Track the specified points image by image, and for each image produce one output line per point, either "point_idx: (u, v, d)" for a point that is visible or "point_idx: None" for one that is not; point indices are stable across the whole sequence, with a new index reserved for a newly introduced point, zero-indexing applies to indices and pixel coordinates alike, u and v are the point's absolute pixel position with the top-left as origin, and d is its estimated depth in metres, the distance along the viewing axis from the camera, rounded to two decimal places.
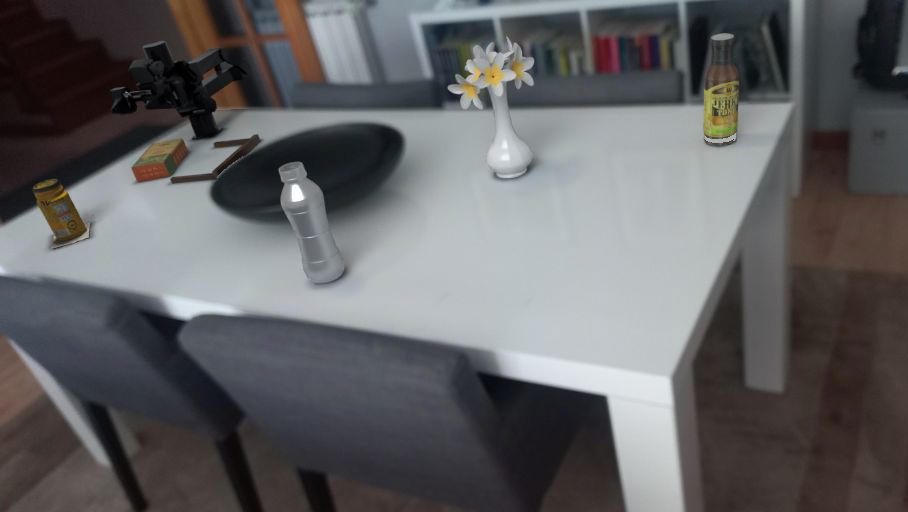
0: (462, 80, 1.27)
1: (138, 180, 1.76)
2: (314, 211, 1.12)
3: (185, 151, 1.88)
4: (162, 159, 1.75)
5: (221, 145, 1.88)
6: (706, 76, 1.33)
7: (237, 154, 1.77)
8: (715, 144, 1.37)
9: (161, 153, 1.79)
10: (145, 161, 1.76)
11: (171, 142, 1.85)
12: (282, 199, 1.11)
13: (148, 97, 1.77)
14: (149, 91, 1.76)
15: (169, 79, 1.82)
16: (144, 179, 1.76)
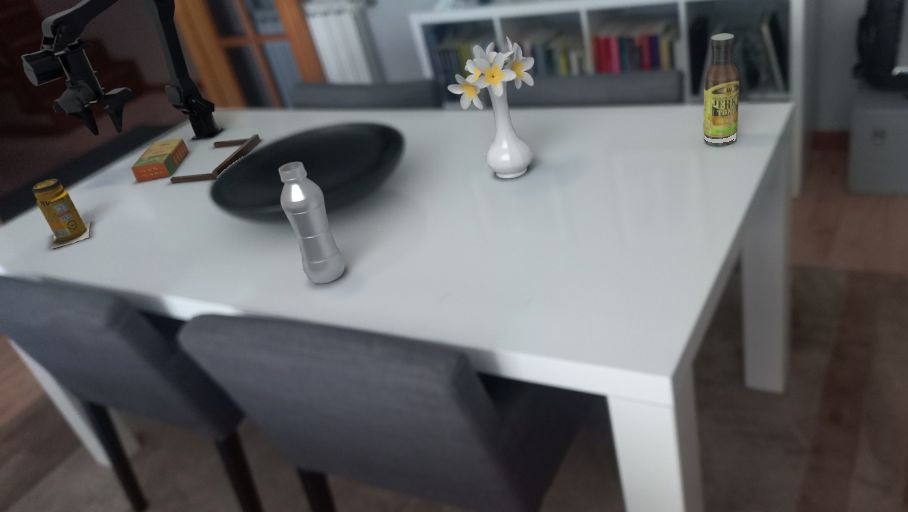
0: (462, 80, 1.27)
1: (138, 180, 1.76)
2: (314, 211, 1.12)
3: (185, 151, 1.88)
4: (162, 159, 1.75)
5: (221, 145, 1.88)
6: (706, 76, 1.33)
7: (237, 154, 1.77)
8: (715, 144, 1.37)
9: (161, 153, 1.79)
10: (145, 161, 1.76)
11: (171, 142, 1.85)
12: (282, 199, 1.11)
13: None
14: (96, 101, 1.74)
15: (81, 72, 1.70)
16: (144, 179, 1.76)
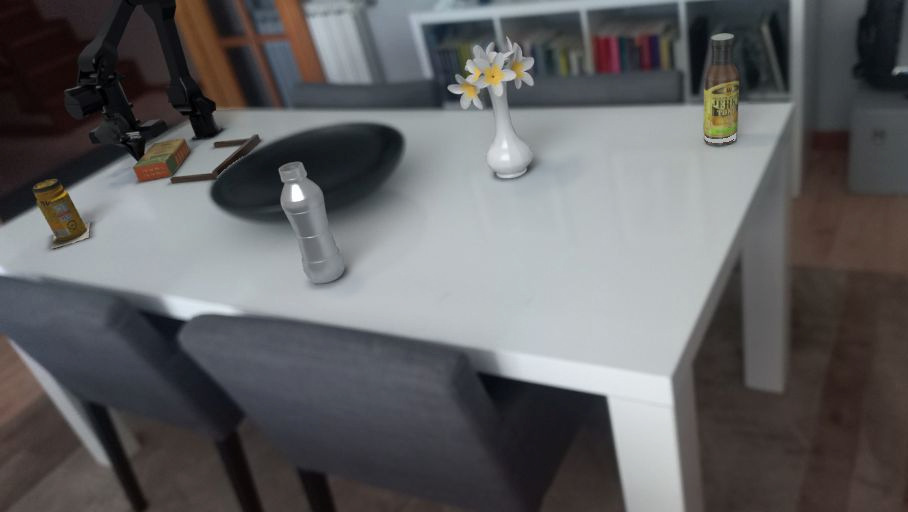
0: (462, 80, 1.27)
1: (140, 180, 1.76)
2: (314, 211, 1.12)
3: (187, 151, 1.87)
4: (164, 159, 1.75)
5: (221, 145, 1.88)
6: (706, 76, 1.33)
7: (237, 154, 1.77)
8: (715, 144, 1.37)
9: (163, 153, 1.79)
10: (146, 161, 1.76)
11: (173, 142, 1.85)
12: (282, 199, 1.11)
13: None
14: None
15: (117, 105, 1.73)
16: (146, 179, 1.76)
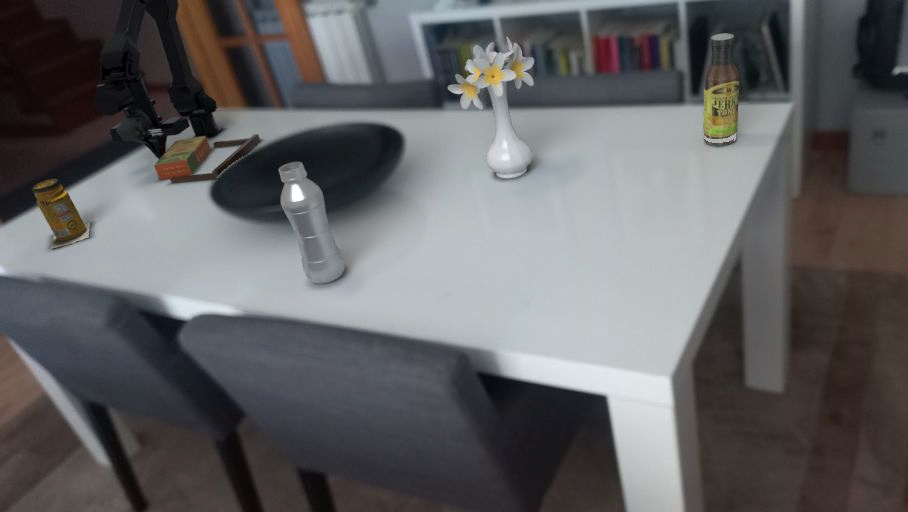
0: (462, 80, 1.27)
1: (161, 178, 1.74)
2: (314, 211, 1.12)
3: (208, 149, 1.86)
4: (185, 157, 1.74)
5: (221, 145, 1.88)
6: (706, 76, 1.33)
7: (237, 154, 1.77)
8: (715, 144, 1.37)
9: (184, 151, 1.77)
10: (168, 159, 1.74)
11: (194, 140, 1.83)
12: (282, 199, 1.11)
13: None
14: None
15: (140, 101, 1.72)
16: (167, 177, 1.74)
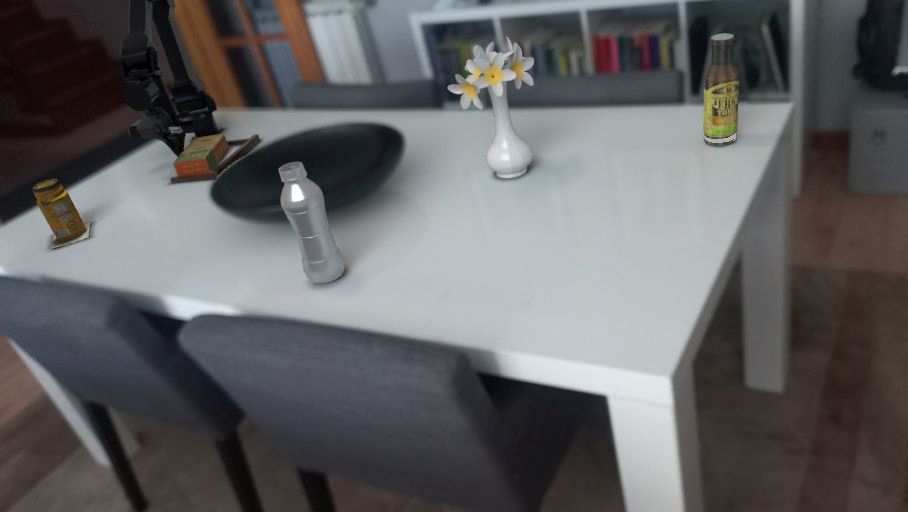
0: (462, 80, 1.27)
1: None
2: (314, 211, 1.12)
3: (226, 147, 1.85)
4: (204, 155, 1.73)
5: None
6: (706, 76, 1.33)
7: (237, 154, 1.77)
8: (715, 144, 1.37)
9: (203, 149, 1.76)
10: (186, 157, 1.73)
11: (212, 138, 1.82)
12: (282, 199, 1.11)
13: None
14: None
15: (160, 98, 1.70)
16: (185, 175, 1.73)
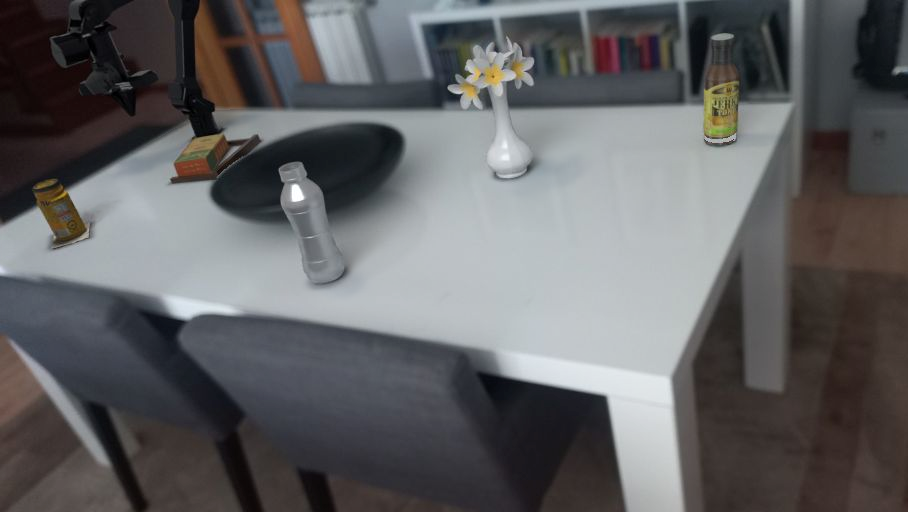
0: (462, 80, 1.27)
1: None
2: (314, 211, 1.12)
3: (226, 147, 1.85)
4: (204, 155, 1.73)
5: None
6: (706, 76, 1.33)
7: (237, 154, 1.77)
8: (715, 144, 1.37)
9: (203, 149, 1.76)
10: (187, 157, 1.73)
11: (213, 137, 1.82)
12: (282, 199, 1.11)
13: None
14: None
15: (107, 54, 1.73)
16: (186, 175, 1.73)
